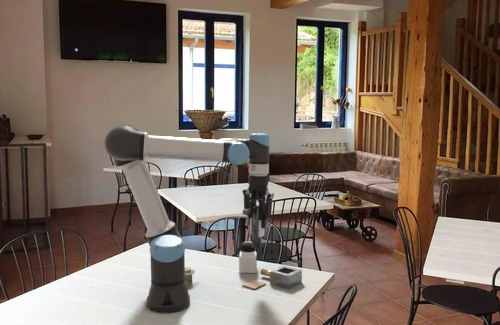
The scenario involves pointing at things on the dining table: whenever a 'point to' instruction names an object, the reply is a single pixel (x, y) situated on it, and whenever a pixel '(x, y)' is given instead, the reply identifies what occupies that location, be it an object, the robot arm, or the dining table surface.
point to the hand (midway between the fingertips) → (256, 235)
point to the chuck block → (284, 276)
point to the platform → (188, 275)
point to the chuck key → (254, 225)
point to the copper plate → (254, 284)
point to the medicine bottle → (247, 258)
